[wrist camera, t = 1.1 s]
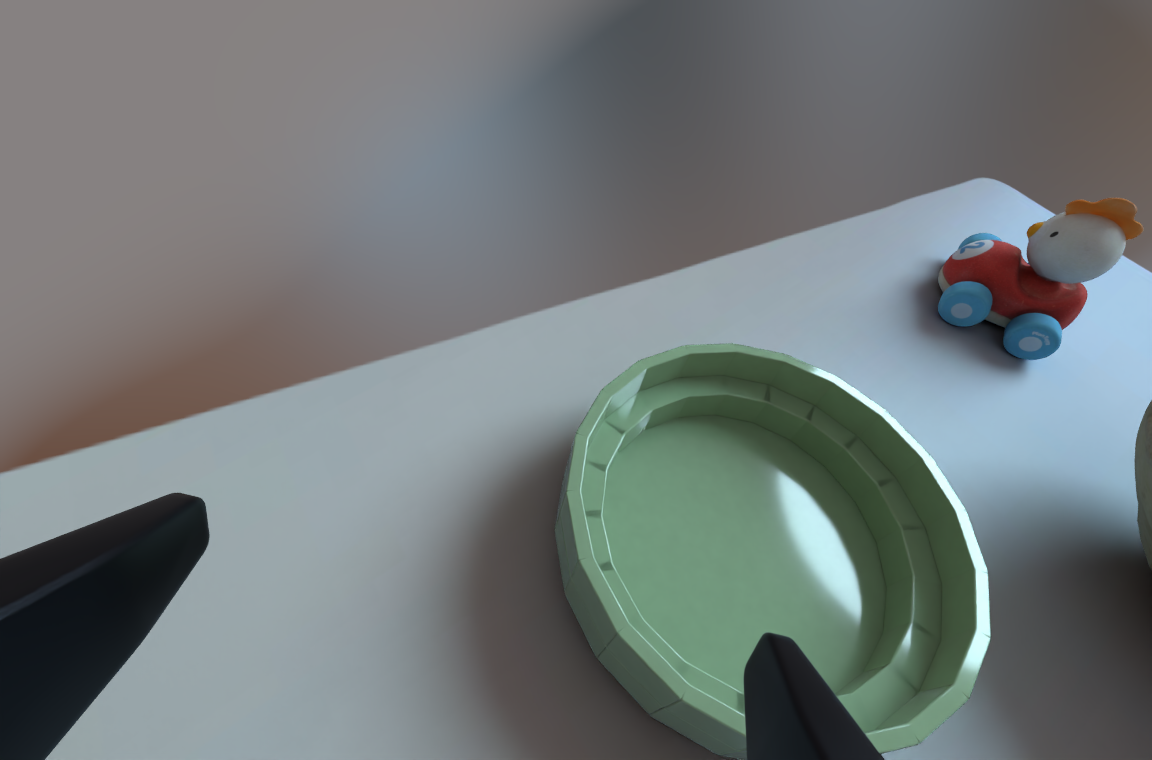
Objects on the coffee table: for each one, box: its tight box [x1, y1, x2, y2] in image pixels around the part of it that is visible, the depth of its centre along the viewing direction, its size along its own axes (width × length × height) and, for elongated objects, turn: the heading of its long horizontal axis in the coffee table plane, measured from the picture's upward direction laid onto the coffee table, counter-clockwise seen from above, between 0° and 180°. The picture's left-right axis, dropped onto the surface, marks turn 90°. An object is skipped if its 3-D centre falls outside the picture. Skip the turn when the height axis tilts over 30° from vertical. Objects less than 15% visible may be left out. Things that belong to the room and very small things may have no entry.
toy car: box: [938, 198, 1143, 360], centre depth 36 cm, size 9×9×10 cm
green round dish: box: [555, 343, 991, 760], centre depth 24 cm, size 17×17×4 cm
